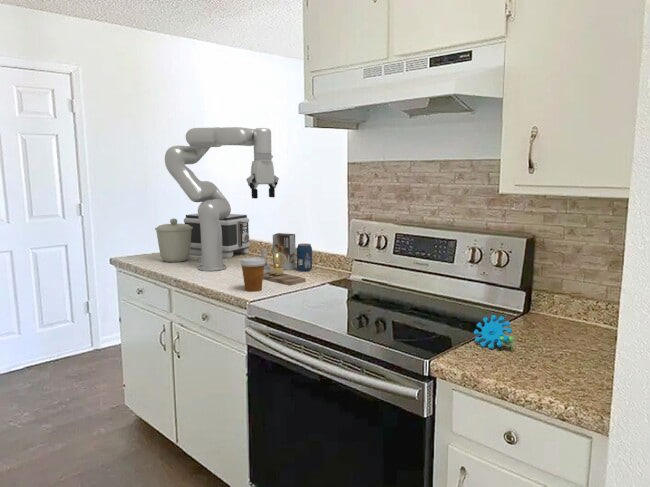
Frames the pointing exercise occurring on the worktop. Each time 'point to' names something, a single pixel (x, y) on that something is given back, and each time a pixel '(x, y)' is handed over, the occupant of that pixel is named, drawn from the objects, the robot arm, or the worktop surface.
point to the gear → (494, 332)
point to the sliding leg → (276, 266)
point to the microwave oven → (223, 234)
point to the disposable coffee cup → (253, 273)
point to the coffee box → (285, 250)
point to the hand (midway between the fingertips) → (263, 197)
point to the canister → (174, 241)
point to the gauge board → (281, 278)
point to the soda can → (304, 257)
